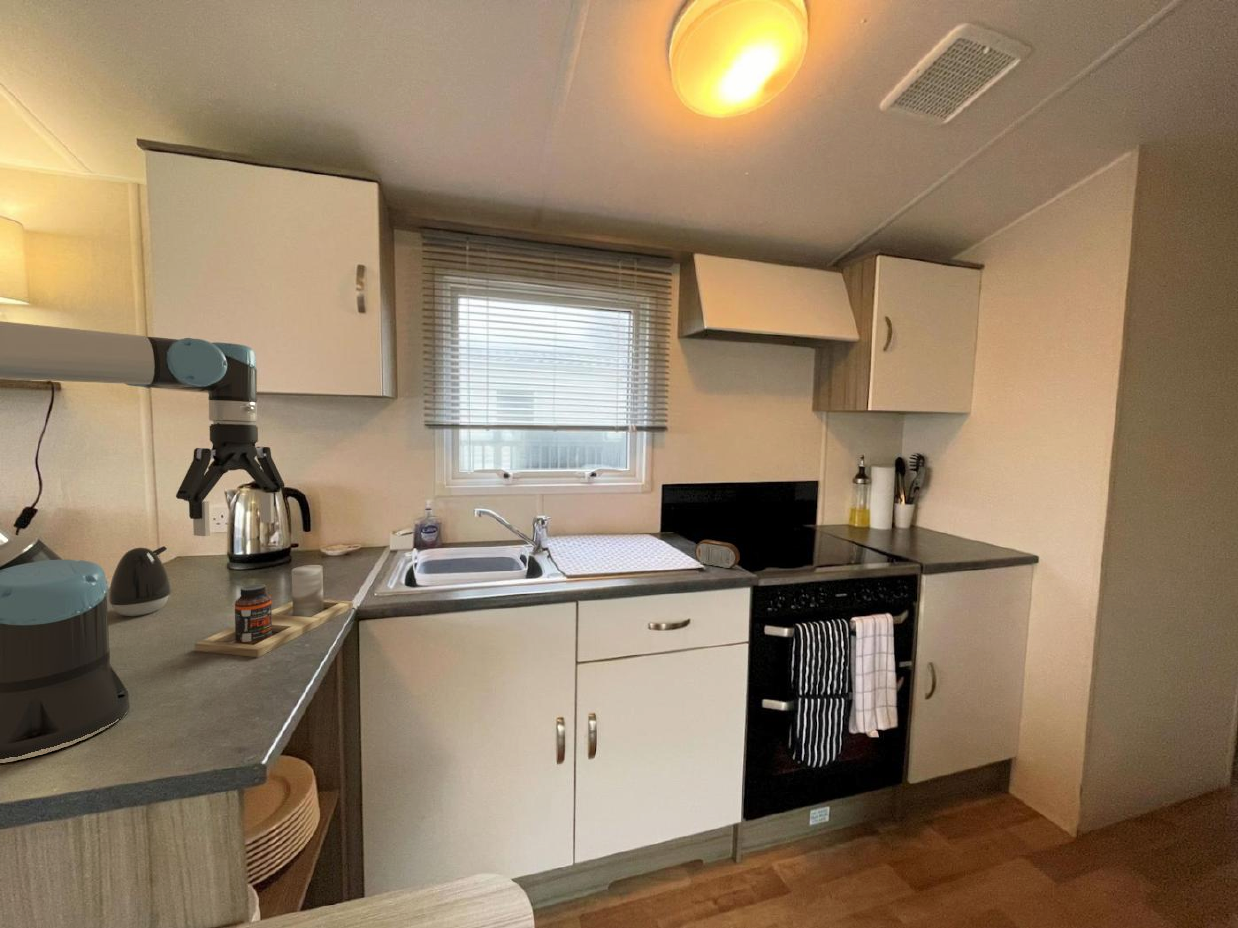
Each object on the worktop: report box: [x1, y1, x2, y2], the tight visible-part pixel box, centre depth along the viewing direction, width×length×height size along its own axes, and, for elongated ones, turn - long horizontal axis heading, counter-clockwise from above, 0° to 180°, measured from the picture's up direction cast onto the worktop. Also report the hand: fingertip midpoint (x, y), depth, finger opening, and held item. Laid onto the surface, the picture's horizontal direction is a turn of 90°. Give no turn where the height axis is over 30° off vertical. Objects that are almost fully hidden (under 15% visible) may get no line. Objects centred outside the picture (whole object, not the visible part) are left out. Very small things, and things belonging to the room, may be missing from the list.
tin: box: [694, 539, 741, 568], centre depth 160 cm, size 15×3×8 cm, turn 58°
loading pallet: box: [194, 564, 354, 658], centre depth 104 cm, size 26×14×11 cm, turn 172°
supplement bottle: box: [234, 583, 273, 645], centre depth 97 cm, size 6×6×11 cm
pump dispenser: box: [108, 546, 172, 617], centre depth 111 cm, size 10×10×15 cm
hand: (236, 528), depth 97 cm, fingers open, 13 cm apart
